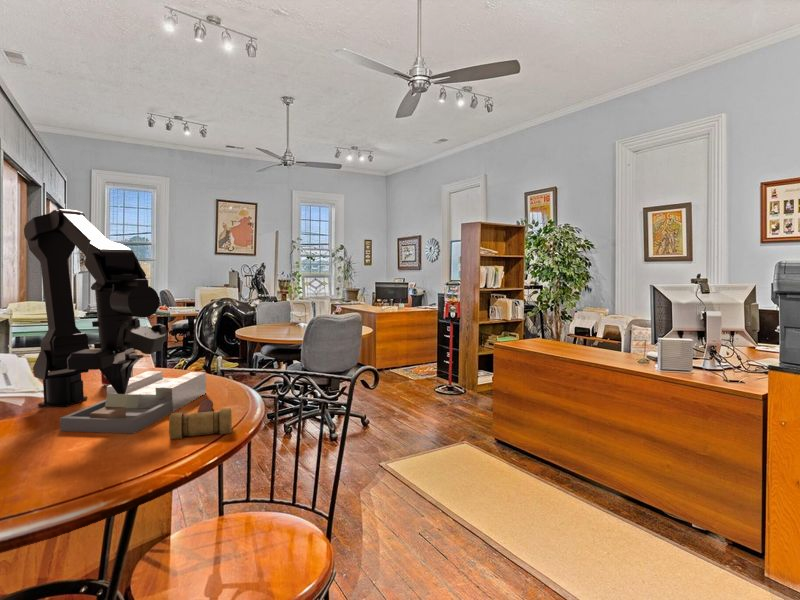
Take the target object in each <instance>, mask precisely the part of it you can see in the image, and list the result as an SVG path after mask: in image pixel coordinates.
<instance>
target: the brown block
mask: <svg viewBox="0 0 800 600" xmlns="http://www.w3.org/2000/svg"><path fill="white" fill-rule="evenodd" d="M90 417H106V418H126V407H103V408H101V409H99V410H96V411H94V412H92V413H90Z"/></svg>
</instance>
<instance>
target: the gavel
mask: <svg viewBox="0 0 800 600" xmlns="http://www.w3.org/2000/svg"><path fill="white" fill-rule="evenodd" d="M213 407H214V403H213V400H211V399H210V398H205V399H202V400H201V401H200V404H199V407H198V409H197V412H194V413H193V412H192V413H191V412H190V413H188V414H184V412H172V413H170V414H169V419H168V436H169V439H170V440H171V439H174V440H179V439H178V438H182V437H183V438H184V437H197V436H207V435H214V434H217V433H219V435H226V434H227V435H228V434H231V433H232V429H233V428H232V424H233V423H232V419H233V418H232V408H231V407H226V408H219V411H213ZM183 438H182V439H183Z"/></svg>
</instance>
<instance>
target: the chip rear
mask: <svg viewBox="0 0 800 600" xmlns="http://www.w3.org/2000/svg"><path fill="white" fill-rule="evenodd" d="M139 397H140V395H135V394H117V393H107V392H106V398H105V399H106V403H105V407H126V408H138V402H139Z"/></svg>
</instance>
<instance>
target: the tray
mask: <svg viewBox="0 0 800 600" xmlns="http://www.w3.org/2000/svg"><path fill="white" fill-rule="evenodd" d="M105 403H106V398H105V399H104V400H100V401H99V402H95V403H93V404H91V405H89V406H87V407H83V408H81V409H79V410H76V411H74V412H71V413H69V414H67V415H63V416H62V417H59V425H60V426H59V427H60V428H59V429H60V432H78V433H79V432H81V433H83V432H84V433H113V434H115V433H116V434H136V433H138V432H139V431H141V430H143V429H145V428H147V427H149V426H150V424H151V425H152V424H154V423H157V421H159V420H161V419H163V418H164V417H167V416H168V415H171V414H172V413H173V412H172V401H166V402H164V403H162V404H160V405H158V406H156V407H154V408H152V409H136V408H126V418H106V417H90V413H92V412H94V411H96V410H99V409H101V408H103V407H105ZM148 425H149V426H148Z"/></svg>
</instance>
